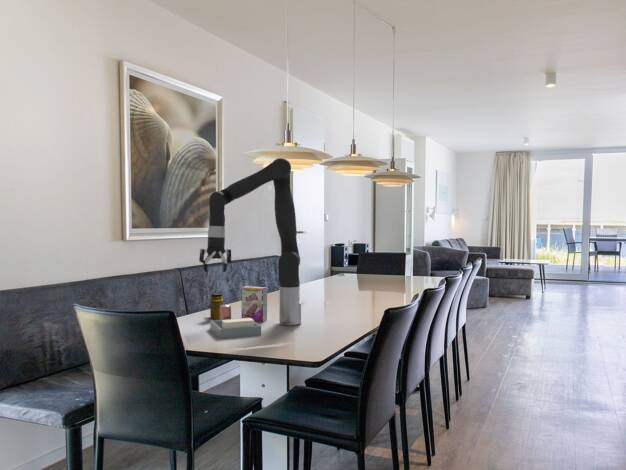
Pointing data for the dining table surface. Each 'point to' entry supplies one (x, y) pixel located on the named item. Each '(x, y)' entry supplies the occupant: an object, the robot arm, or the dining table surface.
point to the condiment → (215, 306)
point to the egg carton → (237, 323)
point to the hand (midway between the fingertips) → (214, 272)
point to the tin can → (225, 312)
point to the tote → (234, 330)
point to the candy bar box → (254, 303)
